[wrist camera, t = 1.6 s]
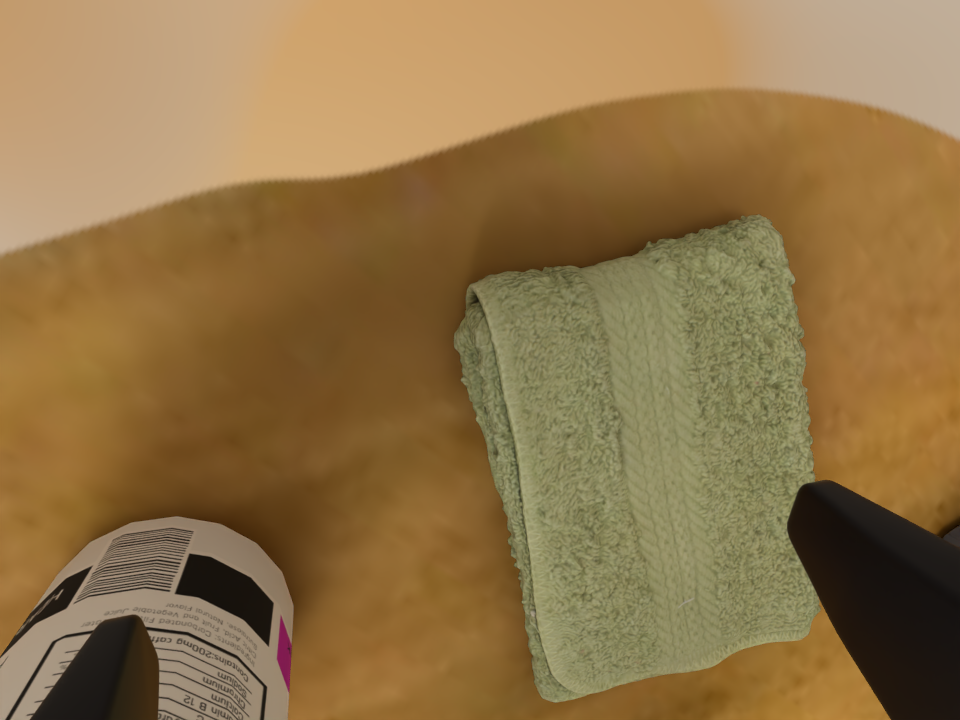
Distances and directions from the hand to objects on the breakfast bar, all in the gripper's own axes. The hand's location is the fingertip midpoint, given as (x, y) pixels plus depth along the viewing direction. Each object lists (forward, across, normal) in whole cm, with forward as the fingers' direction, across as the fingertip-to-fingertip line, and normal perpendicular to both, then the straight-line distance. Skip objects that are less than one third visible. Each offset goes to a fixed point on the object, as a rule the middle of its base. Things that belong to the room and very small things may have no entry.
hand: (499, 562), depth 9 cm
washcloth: (+13, -10, +12) cm, 20 cm away
